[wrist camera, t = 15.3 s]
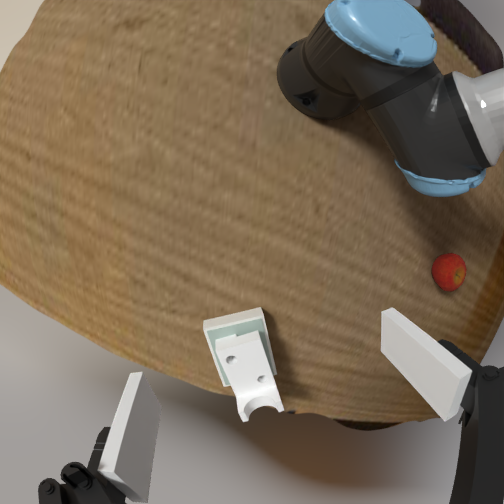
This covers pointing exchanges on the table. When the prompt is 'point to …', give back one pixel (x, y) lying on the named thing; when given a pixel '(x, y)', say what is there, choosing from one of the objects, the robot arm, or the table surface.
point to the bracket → (248, 372)
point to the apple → (449, 271)
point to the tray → (239, 326)
